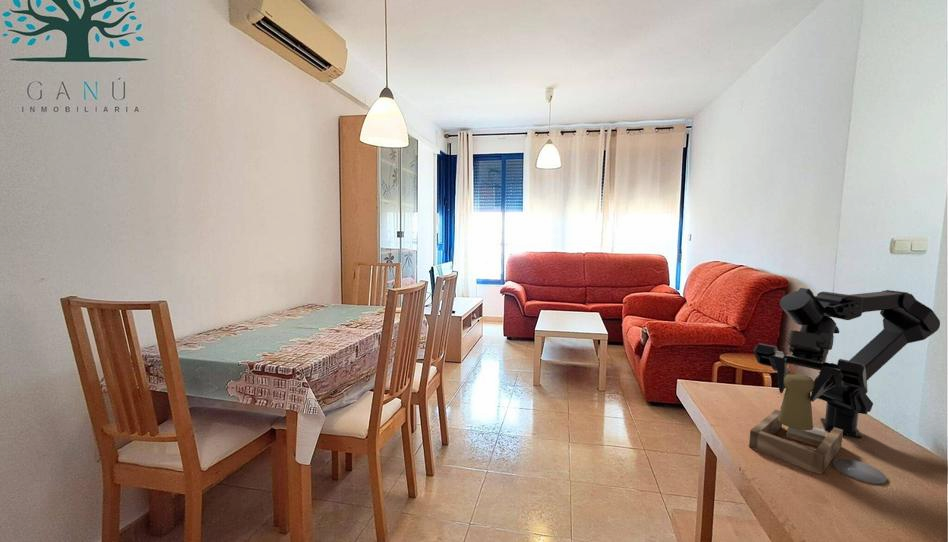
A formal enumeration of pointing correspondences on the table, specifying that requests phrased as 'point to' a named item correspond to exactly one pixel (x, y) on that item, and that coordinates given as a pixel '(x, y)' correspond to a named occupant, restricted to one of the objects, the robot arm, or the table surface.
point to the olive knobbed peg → (797, 402)
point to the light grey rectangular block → (807, 435)
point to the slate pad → (859, 471)
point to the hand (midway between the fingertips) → (795, 396)
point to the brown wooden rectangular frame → (794, 445)
